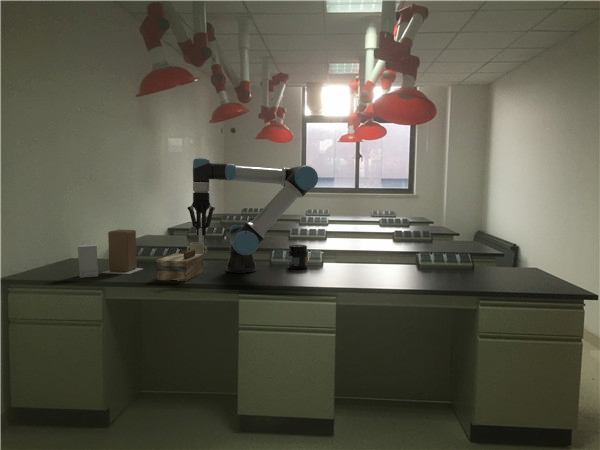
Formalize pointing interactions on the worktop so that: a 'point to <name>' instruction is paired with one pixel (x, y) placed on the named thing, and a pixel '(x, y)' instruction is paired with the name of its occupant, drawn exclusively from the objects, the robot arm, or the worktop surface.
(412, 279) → the worktop surface
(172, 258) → the lid
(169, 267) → the toolbox
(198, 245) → the character mug
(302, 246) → the supplement container
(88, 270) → the skincare box
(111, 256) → the wooden block
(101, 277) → the worktop surface
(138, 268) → the mat
